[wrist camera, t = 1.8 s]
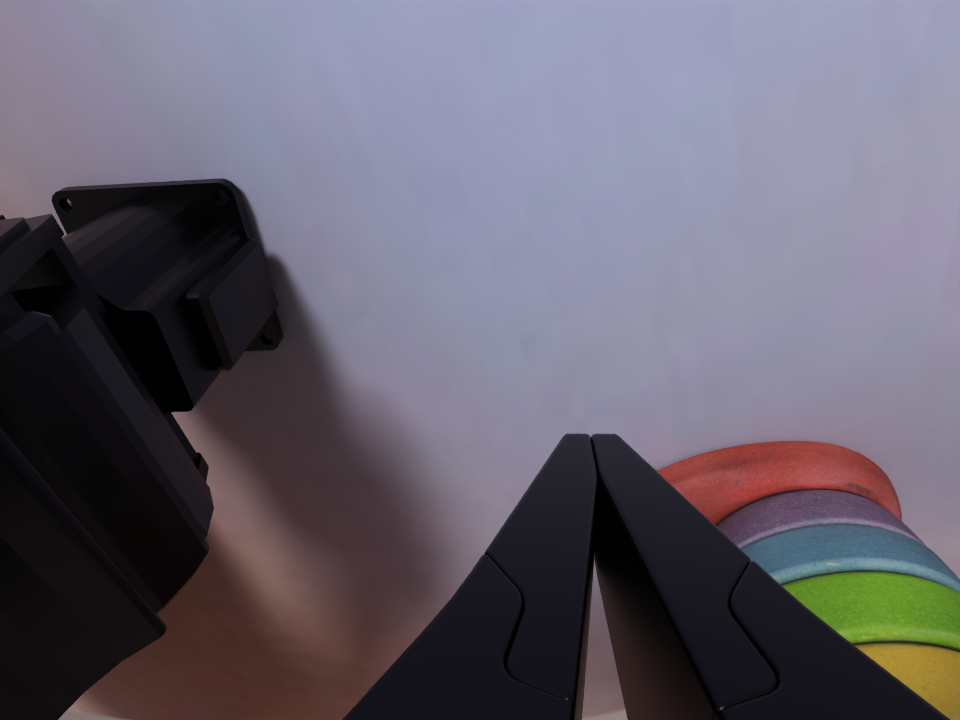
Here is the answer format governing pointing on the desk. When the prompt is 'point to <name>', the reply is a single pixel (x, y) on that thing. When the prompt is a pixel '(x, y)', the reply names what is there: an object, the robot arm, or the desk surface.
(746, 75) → the desk surface
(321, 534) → the desk surface
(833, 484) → the stacking bear
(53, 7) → the desk surface
